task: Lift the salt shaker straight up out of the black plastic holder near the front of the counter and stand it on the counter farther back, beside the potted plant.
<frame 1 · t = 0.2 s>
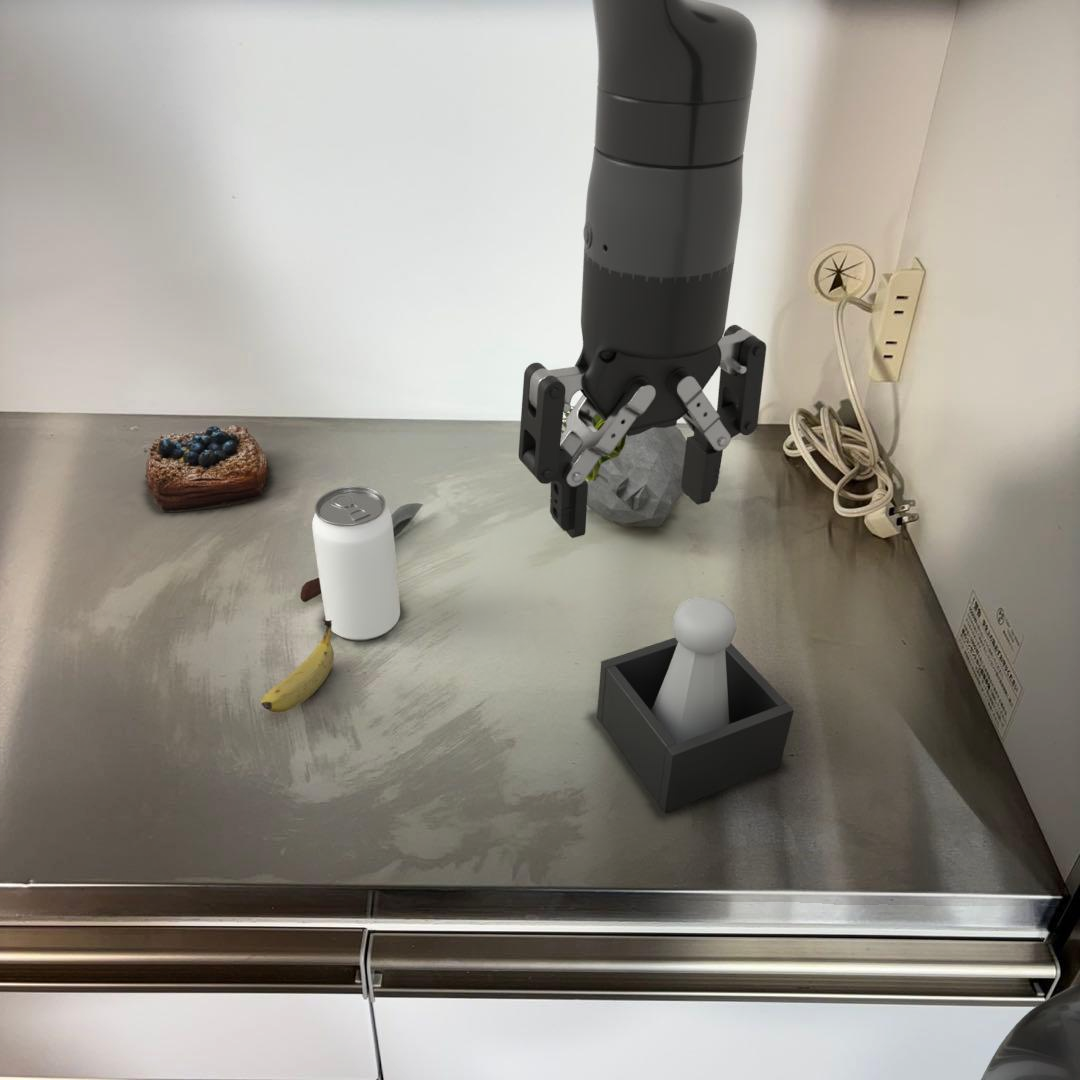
hand: (634, 513, 58), 23 cm above the worktop, tool pointing down, fingers open, 8 cm apart
can: (363, 620, 85), on the worktop
salt shaker: (686, 743, 74), resting in holder
knife: (368, 561, 92), on the worktop
holder: (686, 741, 74), on the worktop
potted plant: (618, 509, 100), on the worktop
banana: (305, 696, 77), on the worktop
pastry: (210, 483, 102), on the worktop
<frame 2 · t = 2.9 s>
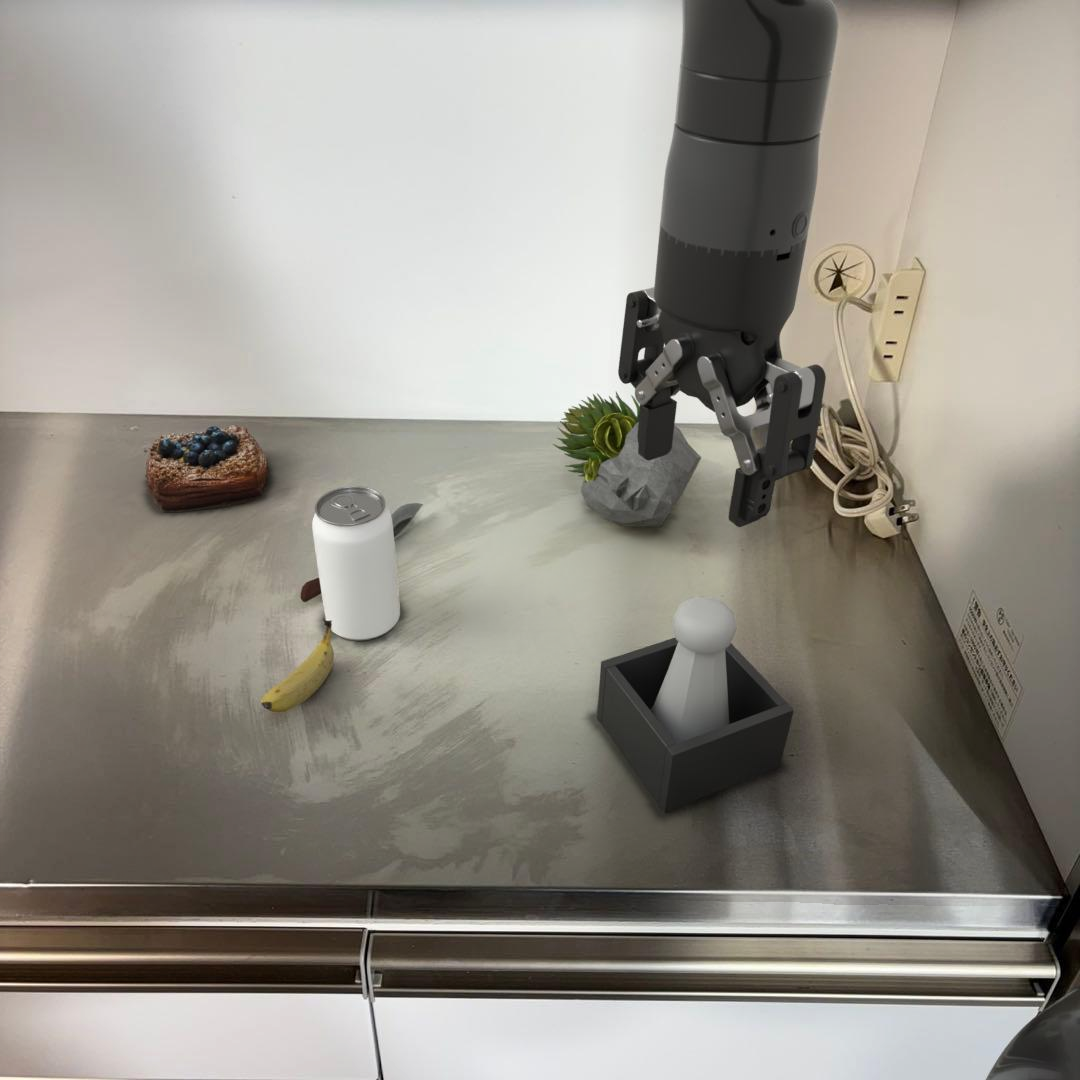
hand: (697, 486, 59), 24 cm above the worktop, tool pointing down, fingers open, 8 cm apart
nothing on the worktop moved.
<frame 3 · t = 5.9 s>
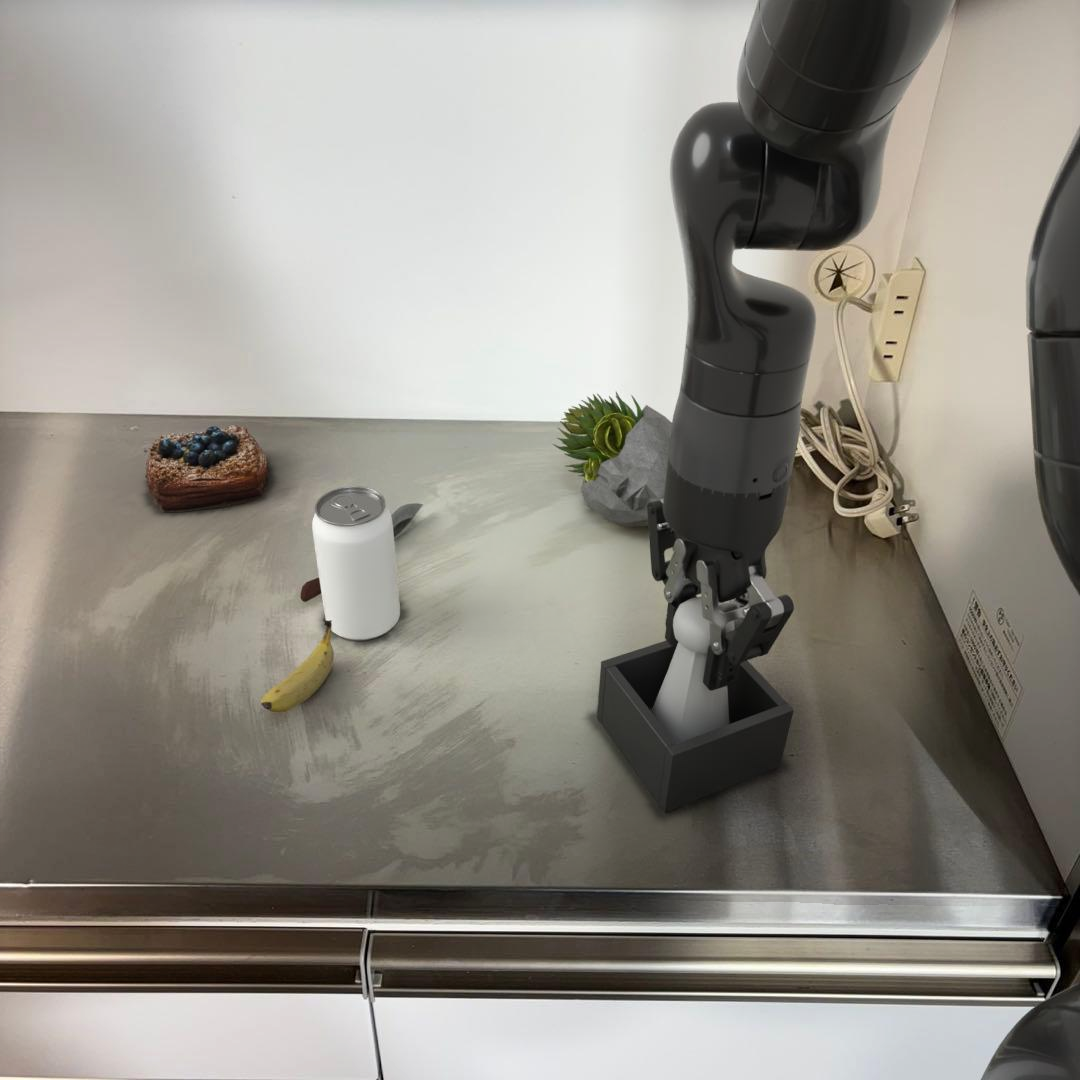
hand: (698, 661, 69), 8 cm above the worktop, tool pointing down, fingers closed on salt shaker, 4 cm apart
salt shaker: (686, 743, 74), resting in holder, touching gripper
everything else where it was.
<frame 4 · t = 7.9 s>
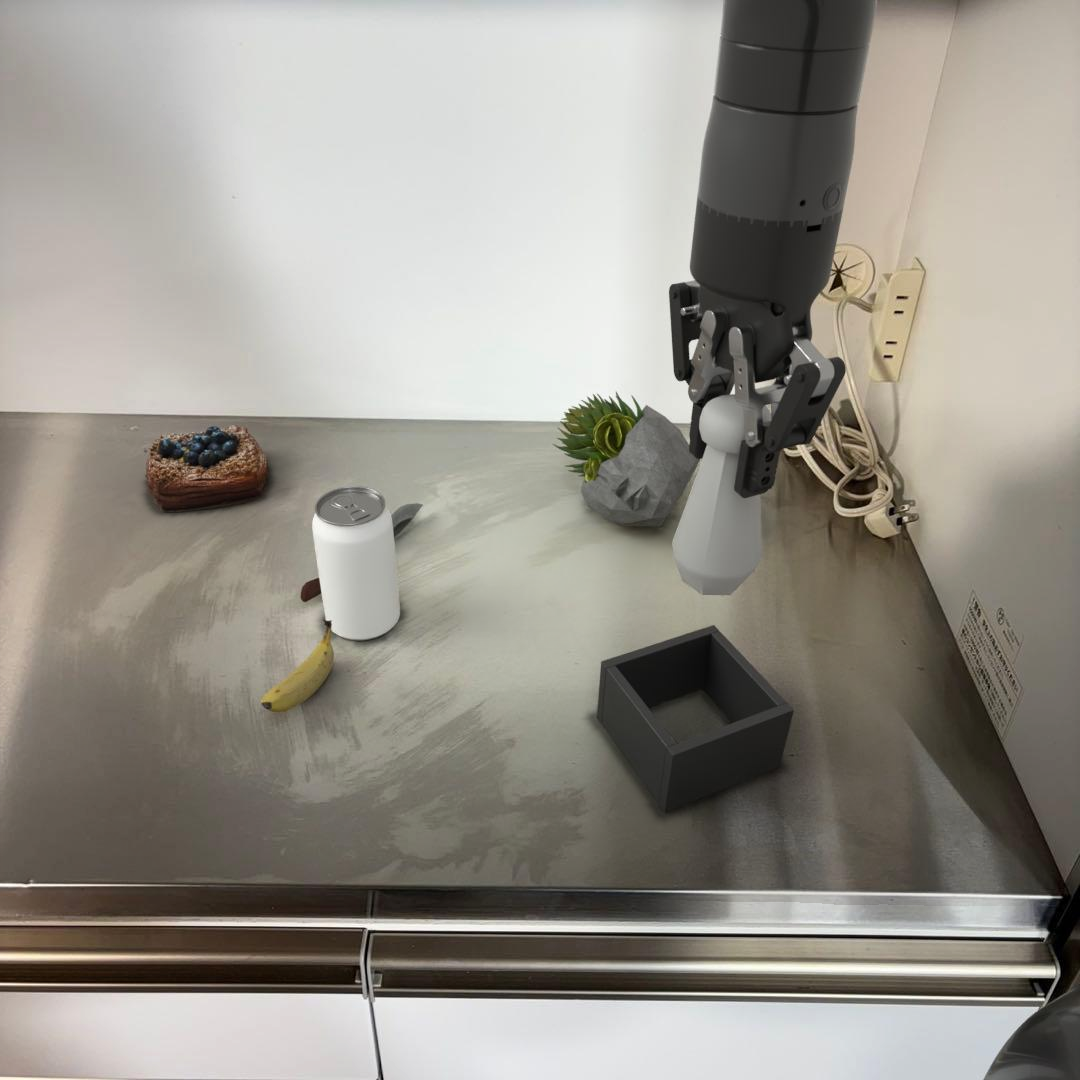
hand: (728, 472, 60), 24 cm above the worktop, tool pointing down, fingers closed on salt shaker, 4 cm apart
salt shaker: (711, 580, 65), point 15 cm above the worktop, touching gripper
everything else where it was.
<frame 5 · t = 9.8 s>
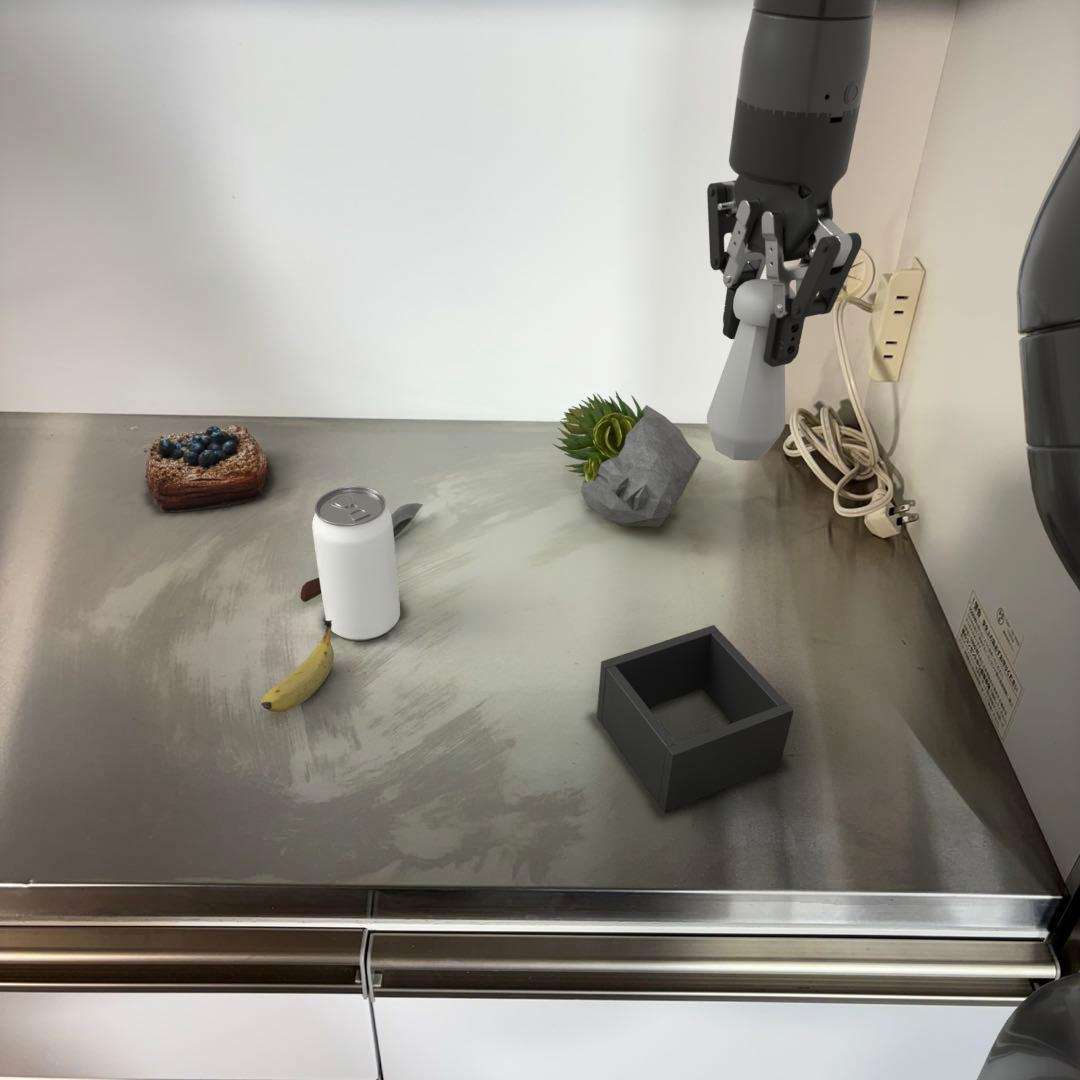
hand: (757, 348, 70), 26 cm above the worktop, tool pointing down, fingers closed on salt shaker, 4 cm apart
salt shaker: (740, 450, 75), point 18 cm above the worktop, touching gripper
everything else where it was.
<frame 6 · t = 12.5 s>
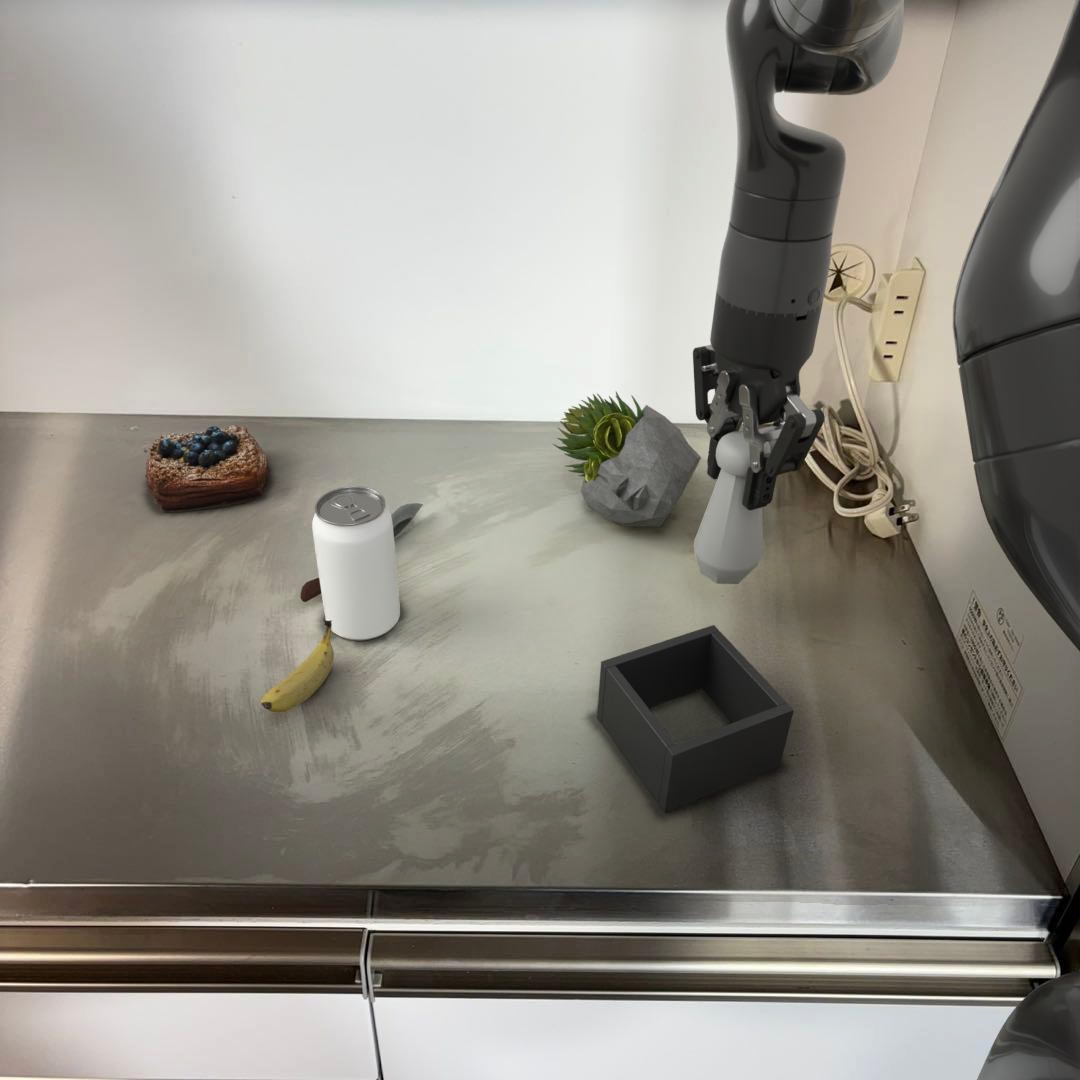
hand: (737, 490, 79), 13 cm above the worktop, tool pointing down, fingers closed on salt shaker, 4 cm apart
salt shaker: (723, 572, 84), point 4 cm above the worktop, touching gripper
everything else where it was.
when the fingers open (8 cm above the worktop, at t = 14.1 s): salt shaker stays where it is, on the worktop.
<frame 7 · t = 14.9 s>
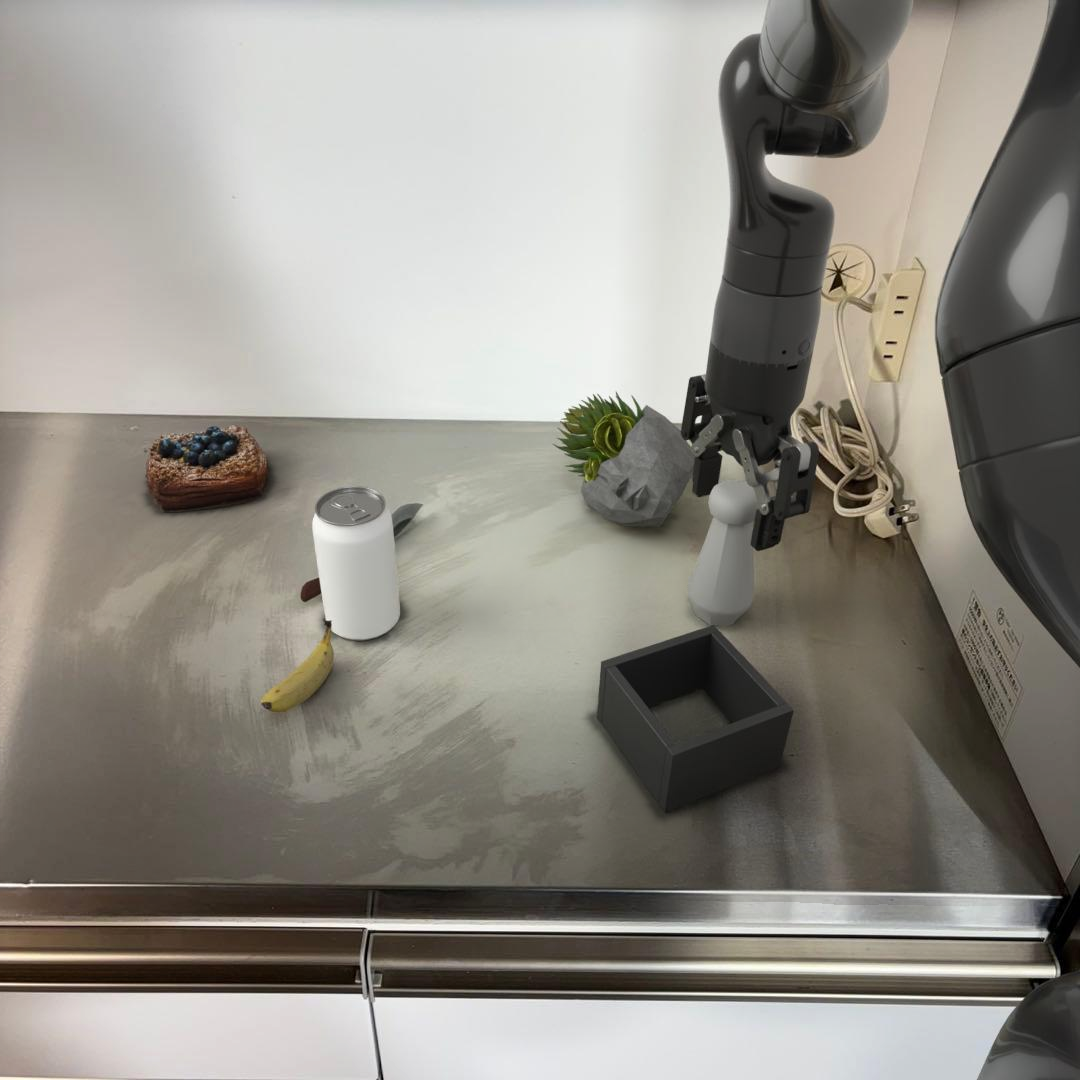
hand: (732, 519, 81), 10 cm above the worktop, tool pointing down, fingers open, 8 cm apart
salt shaker: (717, 613, 87), on the worktop
everything else where it was.
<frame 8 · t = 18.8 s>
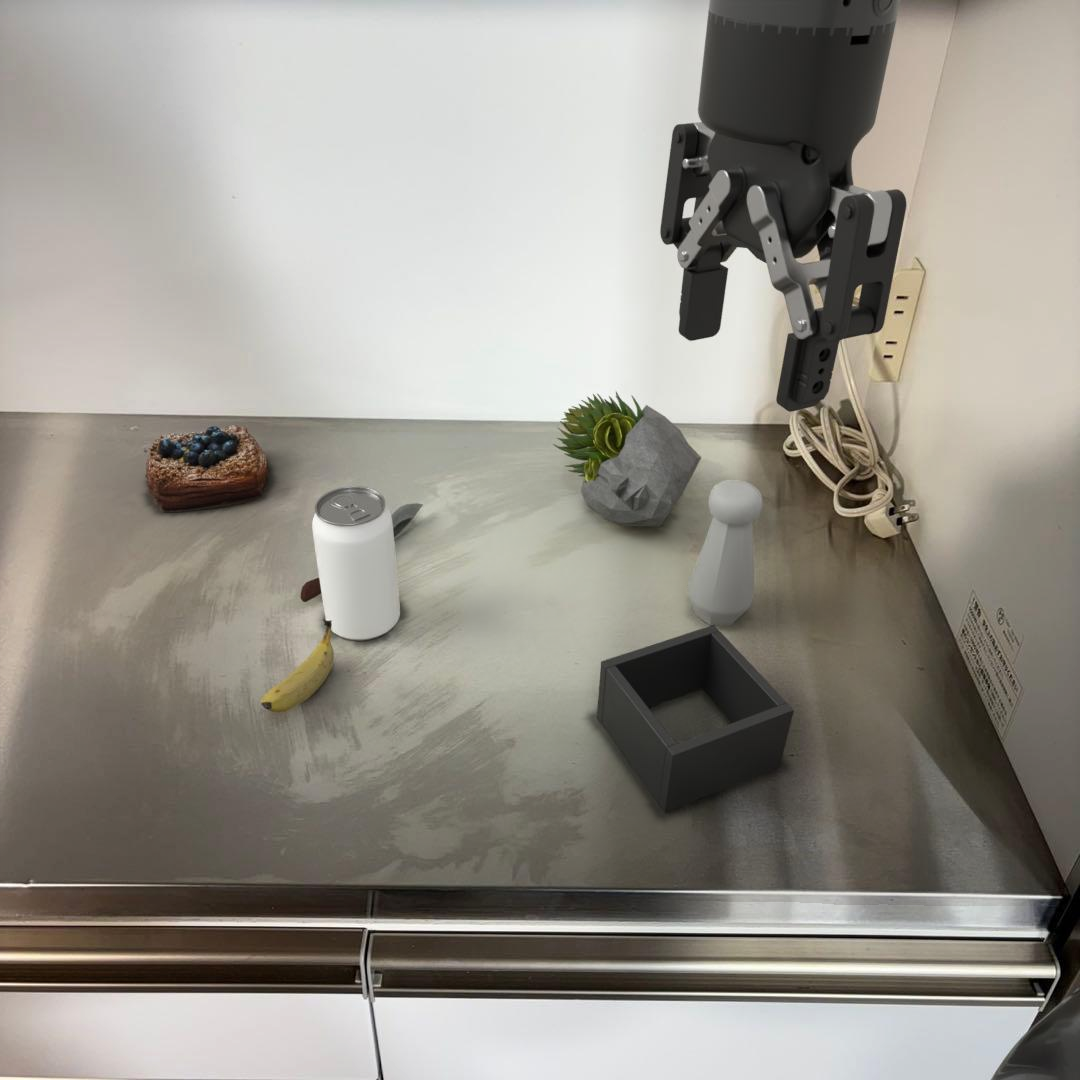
hand: (745, 369, 49), 34 cm above the worktop, tool pointing down, fingers open, 8 cm apart
nothing on the worktop moved.
at the end: salt shaker inside the target area (0.1 cm from its centre), on the worktop; salt shaker 18.1 cm from the potted plant (horizontally); salt shaker tilted 0° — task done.
